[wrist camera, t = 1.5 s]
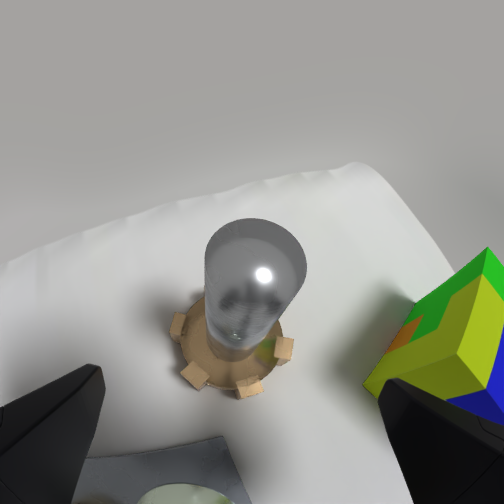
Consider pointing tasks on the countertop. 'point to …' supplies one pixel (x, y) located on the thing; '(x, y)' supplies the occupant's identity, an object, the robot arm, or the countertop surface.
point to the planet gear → (241, 307)
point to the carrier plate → (163, 477)
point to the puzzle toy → (454, 342)
